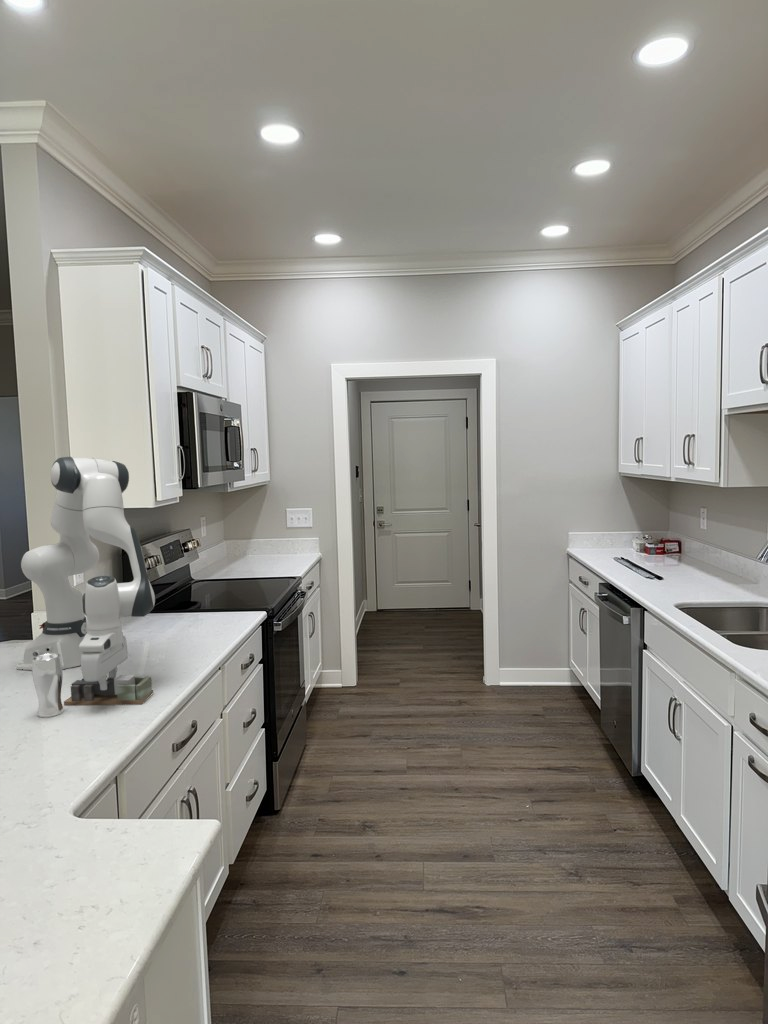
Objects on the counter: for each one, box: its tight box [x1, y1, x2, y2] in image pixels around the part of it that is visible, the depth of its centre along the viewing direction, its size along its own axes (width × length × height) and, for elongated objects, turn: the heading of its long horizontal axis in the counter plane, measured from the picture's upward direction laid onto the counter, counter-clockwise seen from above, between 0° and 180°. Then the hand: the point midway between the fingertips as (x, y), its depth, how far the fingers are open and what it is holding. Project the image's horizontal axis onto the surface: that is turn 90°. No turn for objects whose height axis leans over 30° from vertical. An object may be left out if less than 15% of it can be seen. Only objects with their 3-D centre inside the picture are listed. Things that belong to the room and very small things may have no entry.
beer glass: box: [31, 653, 64, 718], centre depth 176 cm, size 7×7×15 cm
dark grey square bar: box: [71, 674, 136, 695], centre depth 185 cm, size 16×4×4 cm, turn 88°
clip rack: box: [63, 675, 154, 706], centre depth 185 cm, size 21×8×5 cm, turn 88°
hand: (108, 686), depth 185 cm, fingers closed on dark grey square bar, 3 cm apart
